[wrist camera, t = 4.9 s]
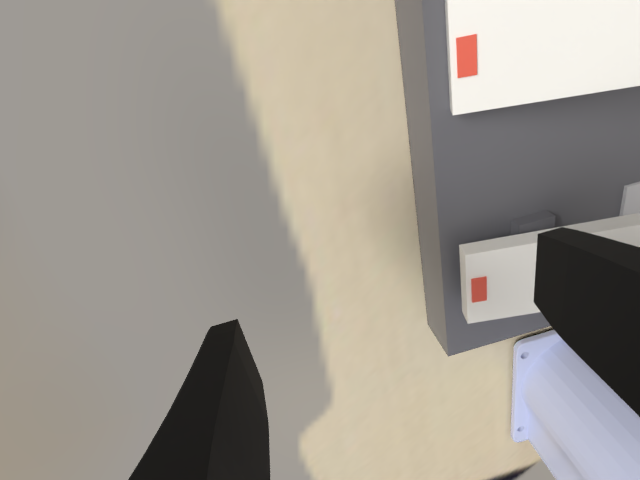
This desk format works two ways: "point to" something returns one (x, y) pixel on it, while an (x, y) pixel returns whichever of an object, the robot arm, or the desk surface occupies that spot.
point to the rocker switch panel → (503, 171)
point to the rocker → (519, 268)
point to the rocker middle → (538, 50)
